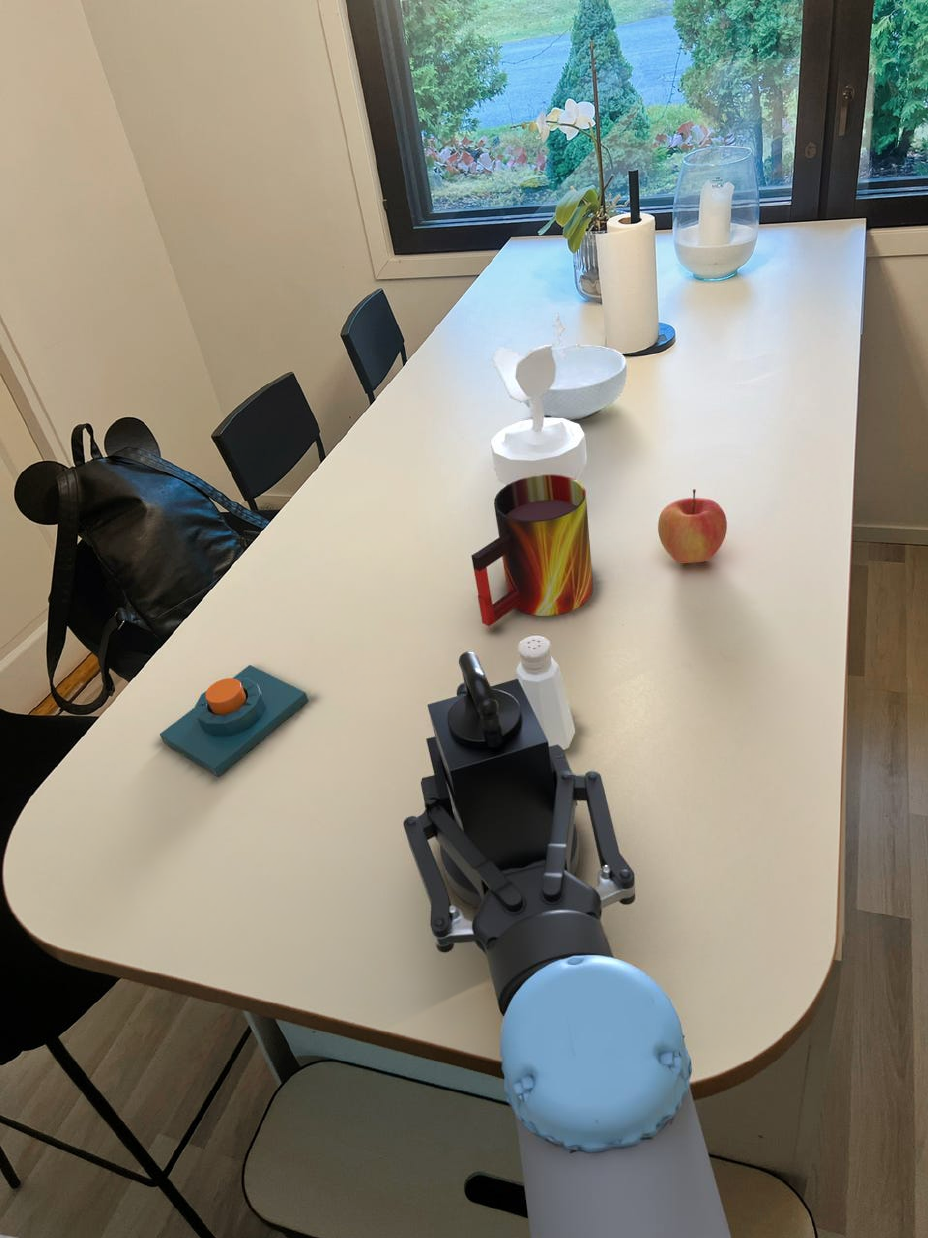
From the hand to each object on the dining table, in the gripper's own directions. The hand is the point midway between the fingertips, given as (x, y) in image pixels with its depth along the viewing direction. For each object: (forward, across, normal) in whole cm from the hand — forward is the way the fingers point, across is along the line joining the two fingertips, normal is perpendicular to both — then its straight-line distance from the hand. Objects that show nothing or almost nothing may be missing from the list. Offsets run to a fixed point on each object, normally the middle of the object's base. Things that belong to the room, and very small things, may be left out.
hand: (482, 737), depth 70 cm
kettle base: (-5, 0, -8) cm, 10 cm away
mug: (+27, +12, -8) cm, 30 cm away
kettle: (-3, 0, -6) cm, 7 cm away
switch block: (+19, -23, -9) cm, 31 cm away
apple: (+28, +29, -8) cm, 41 cm away
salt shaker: (+7, +6, -8) cm, 13 cm away
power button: (+19, -23, -6) cm, 30 cm away
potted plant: (+47, +17, -8) cm, 51 cm away
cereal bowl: (+73, +29, -8) cm, 78 cm away
